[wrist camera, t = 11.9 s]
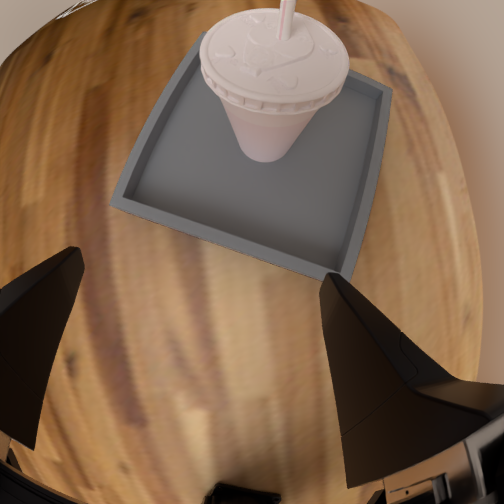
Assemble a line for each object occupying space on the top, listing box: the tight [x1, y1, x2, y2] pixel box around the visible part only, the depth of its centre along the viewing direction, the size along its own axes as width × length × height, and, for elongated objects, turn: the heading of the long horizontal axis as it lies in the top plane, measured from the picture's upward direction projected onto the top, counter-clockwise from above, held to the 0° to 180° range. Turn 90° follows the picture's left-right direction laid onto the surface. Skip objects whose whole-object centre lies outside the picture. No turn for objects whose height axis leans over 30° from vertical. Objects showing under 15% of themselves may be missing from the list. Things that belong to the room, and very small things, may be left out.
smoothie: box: [200, 0, 349, 162], centre depth 11 cm, size 6×6×14 cm
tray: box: [109, 32, 392, 283], centre depth 18 cm, size 17×17×2 cm
